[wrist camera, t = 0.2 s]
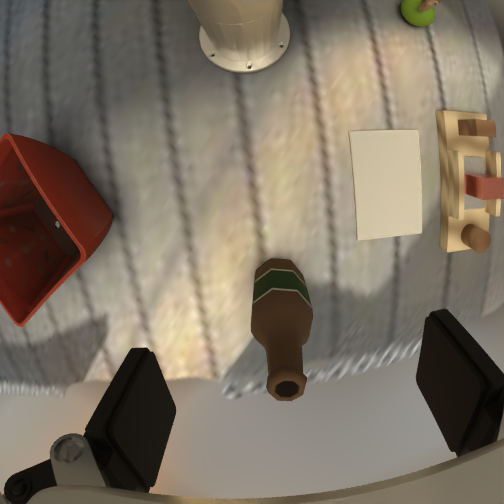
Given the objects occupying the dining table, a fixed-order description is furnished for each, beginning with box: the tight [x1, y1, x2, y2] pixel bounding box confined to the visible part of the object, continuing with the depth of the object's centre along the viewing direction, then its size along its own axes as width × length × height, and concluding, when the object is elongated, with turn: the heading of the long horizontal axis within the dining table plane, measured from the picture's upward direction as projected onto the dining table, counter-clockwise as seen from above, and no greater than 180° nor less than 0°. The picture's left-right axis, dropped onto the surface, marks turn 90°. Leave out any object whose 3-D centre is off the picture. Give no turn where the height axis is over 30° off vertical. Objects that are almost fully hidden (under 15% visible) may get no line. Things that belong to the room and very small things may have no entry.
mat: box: [349, 130, 422, 241], centre depth 43 cm, size 16×11×1 cm
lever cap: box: [464, 157, 504, 210], centre depth 37 cm, size 8×5×6 cm, turn 8°
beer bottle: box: [251, 259, 313, 401], centre depth 37 cm, size 8×8×24 cm
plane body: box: [436, 110, 501, 253], centre depth 38 cm, size 22×9×8 cm, turn 8°
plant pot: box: [0, 133, 113, 327], centre depth 38 cm, size 19×19×17 cm
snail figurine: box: [401, 0, 442, 27], centre depth 28 cm, size 5×6×12 cm
